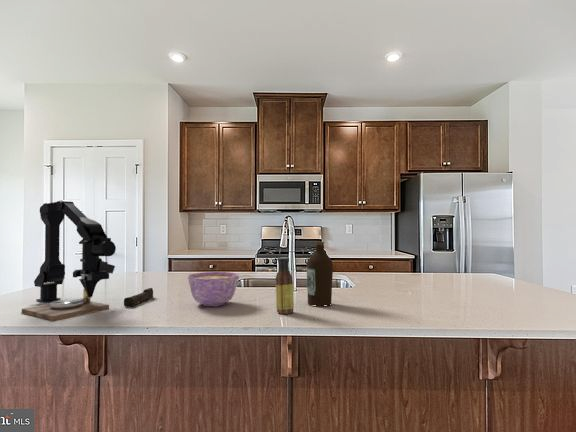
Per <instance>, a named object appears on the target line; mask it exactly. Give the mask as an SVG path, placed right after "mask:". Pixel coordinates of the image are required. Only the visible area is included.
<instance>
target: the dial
mask: <svg viewBox="0 0 576 432" xmlns="http://www.w3.org/2000/svg"><path fill="white" fill-rule="evenodd" d="M82 294H83V295H82V296H83V298H68V299H67V298H66V299H60V300H55V301H50V303H49V304H50V308H51V309H69V308H75V307H79V306H82V302H85V303H86V302H90V301H92V299H91V298H92V297H90V298H89V297H88V295H87V293H86V291H85V289H84V288H83V293H82Z"/></svg>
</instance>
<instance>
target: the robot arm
mask: <svg viewBox="0 0 576 432" xmlns="http://www.w3.org/2000/svg"><path fill="white" fill-rule="evenodd" d="M39 207H40V208H39V215H40V220H41V222H43V224H44V225H45V231H44V234H45V235H44V236H45V237H44V261H43V262H42V263H41V266H40V267H39V273H38V274H37V276H36V277H35V279H34V281H33V283H34V287H37V288H38V287H39V289H40V291H39V293H40V295H39V296H40V297H39V298H38V299H37V298H36V302H41V303H49V302H54V301H58V300H62V298H61V297H58V285H63V283H64V279H65V275H66V272H65V271H66V270H65V269H66V265H65V264H64V263H62V262H61V260H60V233H61V232H60V226H61V224H62V223H63V221H64V220H65V216H66V217H67V218H68V219H69V220H70V222H72V224H74V225H75V227H76V232H77V233H78V235H79V237H81V238H82V239H81V240H80V241H79V242H78V244H79V245H82V248H81V249H82V251H81V256H82V257H81V258H79V259H80V262H81V268H80V269H74V271H73V272H72V278H76V279H77V278H78V277H80V278H79V279H78V280H79V281H80V284H81V285H82V287H83V290H84V289H85V291H86V293H87V295H88V297H89V298H90V297H91V298H93V295H94V293H95V289H96V286H97V284H98V283H99V282H100V281H102V280H108V279H110V274H113V273H114V271H115V269H116V268H115V267H116V266H115V265H114V264H109V263H108V261H104V260H103V259H102V257H111V256H113V255H114V254H115V253H116V249H117V248H116V245H115V243H114V242H113V241H112V238H111V237H108V235H107V234H106V231H104V228H103V225H102V224H101V223H100V222H98V221H96V220H93V219H90V218H89V217H87V216H86V215H85V214H84V213H83V212H82V211H81V210H80V209H79V208H78V207H77V206H76V205H75V203H74V202H73V201H71V200H57V201H55V202H50V203H47V202H46V203H43V204H42V205H41V206H39Z"/></svg>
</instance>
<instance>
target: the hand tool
mask: <svg viewBox="0 0 576 432" xmlns="http://www.w3.org/2000/svg"><path fill="white" fill-rule="evenodd" d="M153 297H154V290H153V288H152V287H150V288H149V287H148V288H146V289H143V291H142V292H141V293H138V294H134V295H131V296H129V297H124V299H123V306H124V307H125V308H132V307H134V306H136V305H137V304H139V303H142V302H144V301H150V300H152V299H153Z"/></svg>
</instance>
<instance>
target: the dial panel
mask: <svg viewBox="0 0 576 432" xmlns="http://www.w3.org/2000/svg"><path fill="white" fill-rule="evenodd" d="M108 309H109V310H110V304H107V303H102V302H97V301H92V300H91V301H90V302H86V303H85V302H82V306H79V307H75V308H69V309H51V308H50V303H46V304H41V305H35V306H29V307H24V308H21V314H24V313H25V314H24V315H28V316H32V317H36V318H40V319H43V320H48V321H51V322H52V321H57V320H63V319H66V318H71V317H76V316H80V315H85V314H90V313H95V312H100V311H104V310H108Z"/></svg>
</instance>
